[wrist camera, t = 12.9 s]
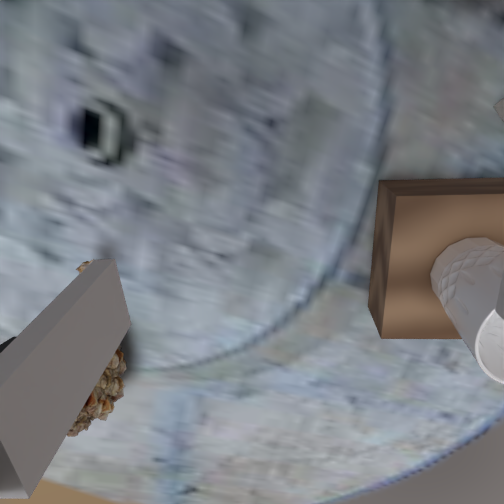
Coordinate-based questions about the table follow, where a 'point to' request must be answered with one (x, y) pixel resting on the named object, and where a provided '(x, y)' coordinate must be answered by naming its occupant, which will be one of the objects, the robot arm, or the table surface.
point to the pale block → (500, 108)
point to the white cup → (474, 298)
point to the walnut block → (425, 248)
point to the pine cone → (101, 389)
